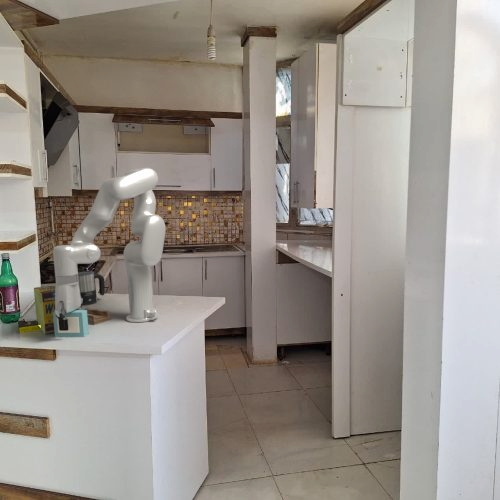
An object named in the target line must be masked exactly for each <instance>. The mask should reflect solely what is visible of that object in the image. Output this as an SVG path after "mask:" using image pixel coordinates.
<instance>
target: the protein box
mask: <svg viewBox="0 0 500 500" xmlns="http://www.w3.org/2000/svg"><path fill="white" fill-rule="evenodd" d="M55 288H56V284H55V285H54V284H53V285H47V286H37V287H33V295H34V297H33V298H34V305H35V315H36V316H35V318H36V322H37V321H38V322H39V323H40V325H41V329H40V331H41V332H42V333H43V334H44V335H47V334H48V335H49V334H55V331H54V320H53V312H55V311H54V310H55Z"/></svg>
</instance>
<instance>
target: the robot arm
mask: <svg viewBox="0 0 500 500" xmlns="http://www.w3.org/2000/svg"><path fill="white" fill-rule="evenodd" d="M158 182H159V177H158V173H157V172H156V171H155V170H154V169H153V168H150V167H140V168H134V169H130V170H127V171H126V173H124V175H123V176H118V177H112V178H111V177H110V178H107V179H105V180H104V181H103V182H102V183H101V185H100V187H99V190H98V191H97V195H96V196H95V199H94V201H93V204H92V206H91V209H90V211H89V213H88V214H87V216H86V217H85V218H84V219H83V220H82V222H81V224H80V225H79V226H78V228H77V229H76V231H75V233H74V235H73V238H72V240H71V242H70V244H63V245H62V244H61V245H56V246H54V248H53V249H52V253H53V265H54V278H55V285H56V288H55V310H54V311H55V313H56V317H57V319H58V322H59V330H60V331H67V330H69V328H68V319H66V318H67V315H68V313H70V312H72V311H74V310H83V309H82V308H83V305H82V301H83V299H82V298H81V296H80V289H79V284H78V283H79V280H78V273H79V271H78V265H81V264H83V265H84V264H85V265H89V264H95V262H98V261H99V259H100V258H101V253H102V252H101V249H100V248H99V246H98V245H97V244H95V243H93V241H94V239H95V238H96V237H97V235H98V234H99V233H100V232H101V231H102V230H103V229H105V228H107V227H108V226H109V225H111V223H112V222H113V220H114V217H115V215H116V212H117V210H118V208H119V204H120V203H121V201H126V200H129V199H132V198H133V201H134V203H133V210H132V211H133V212H132V217H131V222H130V223H131V224H130V232H131V233H132V235H133V236H135V237H137V238H140V239H141V240H134V241H130V242H129V243H128V244H126V246H125V247H124V250H123V260H124V265H125V268H126V274H127V275H126V276H127V289H128V292H127V293H128V304H129V314H128V315H127V316H126V318H125V319H126V321H127V322H131V323H145V322H149V321H150V322H151V321H153V320H156V319H158V317H159V315H161V312H160V310H157V309H156V306H154V305H155V304H154V292H153V276H152V270H151V267H153V266H156V265H157V264H158V263H159V262H160V261H161V259H162V256H163V250H164V244H165V237H166V231H167V230H166V224H165V221H164V219H163V217H161V216H160V215H159V214H156V206H157V200H156V196H155V193H154V191H153V189H154V188H155V187H156V186H157V185H158ZM63 314H64V315H63Z"/></svg>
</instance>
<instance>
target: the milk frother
mask: <svg viewBox="0 0 500 500" xmlns="http://www.w3.org/2000/svg"><path fill="white" fill-rule="evenodd" d="M96 279H98V287H99V292H98V293H99V295H100V296H104V295H105V294H106V293H105V291H106V289H105V278H104V276H103V275H102V274H99V273H95V271H80V272H79V271H78V280H79V283H78V284H79V289H80V296H81V298H82V299H83V301H82V306H87V305H92V304H96V303H97V302H98V300H97V298H98V297H97V296H98V295H97V287H96V286H97V285H96Z"/></svg>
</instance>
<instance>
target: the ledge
mask: <svg viewBox="0 0 500 500" xmlns="http://www.w3.org/2000/svg"><path fill="white" fill-rule="evenodd" d="M84 310H87V318H88V325H93V326H94V325H98V324H101V323H104V322H108V321H110V320H111V311H109V310H103V309H96V308H89V307H86V308H84Z"/></svg>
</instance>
